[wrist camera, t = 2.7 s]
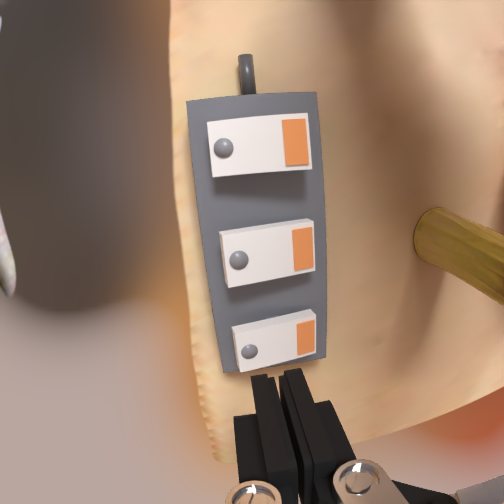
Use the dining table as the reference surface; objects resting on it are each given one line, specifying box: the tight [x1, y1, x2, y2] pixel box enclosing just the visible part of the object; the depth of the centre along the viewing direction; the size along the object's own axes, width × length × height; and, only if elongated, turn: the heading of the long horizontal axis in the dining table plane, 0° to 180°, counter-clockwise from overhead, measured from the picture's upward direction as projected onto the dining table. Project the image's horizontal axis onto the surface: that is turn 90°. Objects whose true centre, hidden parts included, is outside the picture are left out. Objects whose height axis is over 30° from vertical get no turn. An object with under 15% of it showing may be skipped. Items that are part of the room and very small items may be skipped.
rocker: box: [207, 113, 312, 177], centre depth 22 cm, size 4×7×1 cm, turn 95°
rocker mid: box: [219, 218, 315, 288], centre depth 25 cm, size 4×7×1 cm, turn 95°
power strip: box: [186, 54, 327, 373], centre depth 27 cm, size 28×10×4 cm, turn 5°
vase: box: [414, 208, 504, 306], centre depth 25 cm, size 6×6×14 cm
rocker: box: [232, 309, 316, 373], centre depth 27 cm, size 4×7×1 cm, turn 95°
